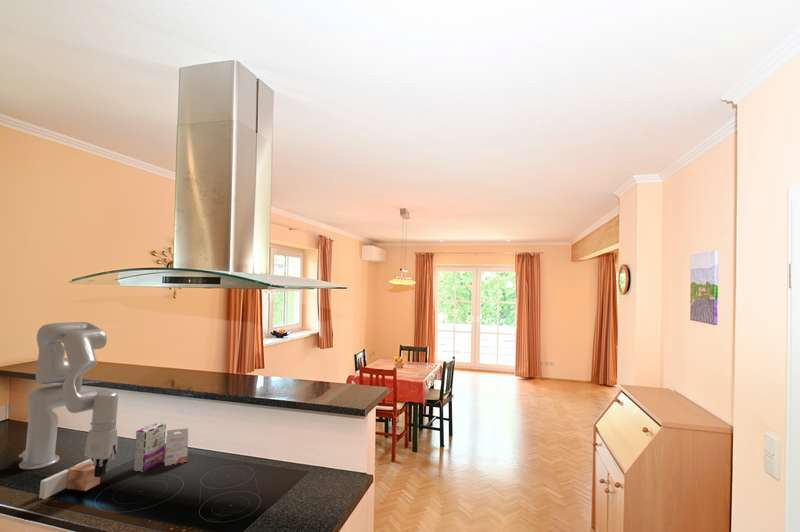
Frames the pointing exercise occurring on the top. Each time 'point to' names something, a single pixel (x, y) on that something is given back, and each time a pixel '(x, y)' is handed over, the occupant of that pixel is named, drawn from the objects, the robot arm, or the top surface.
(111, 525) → the top surface
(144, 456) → the candy bar box
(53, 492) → the grey board
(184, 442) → the ink cartridge box
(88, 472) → the terracotta block
